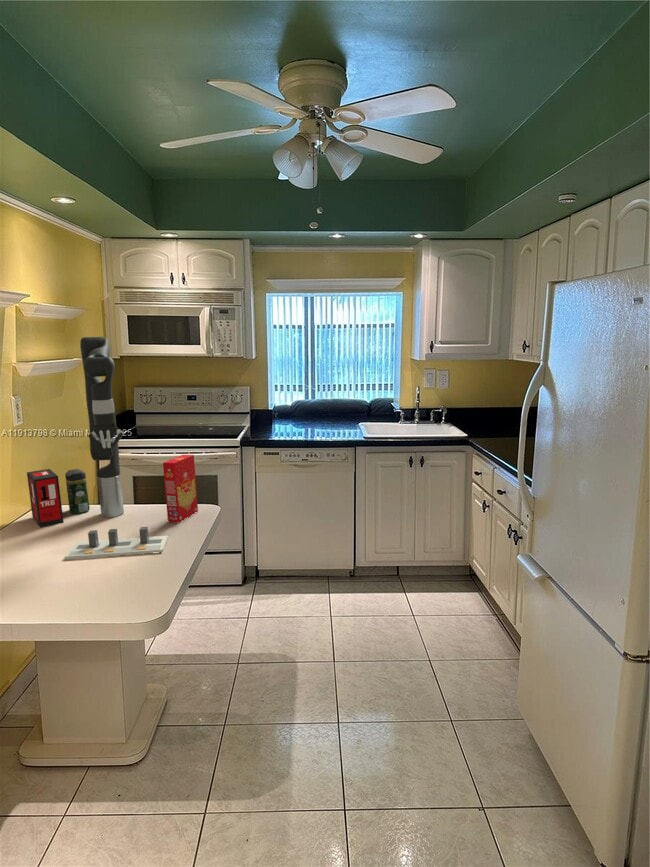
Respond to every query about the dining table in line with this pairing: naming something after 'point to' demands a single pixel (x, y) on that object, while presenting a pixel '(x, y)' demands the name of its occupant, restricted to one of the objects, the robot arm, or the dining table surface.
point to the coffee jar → (77, 491)
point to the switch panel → (117, 548)
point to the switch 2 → (144, 535)
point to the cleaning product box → (45, 497)
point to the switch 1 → (93, 538)
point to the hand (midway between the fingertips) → (108, 457)
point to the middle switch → (113, 536)
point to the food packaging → (180, 487)
